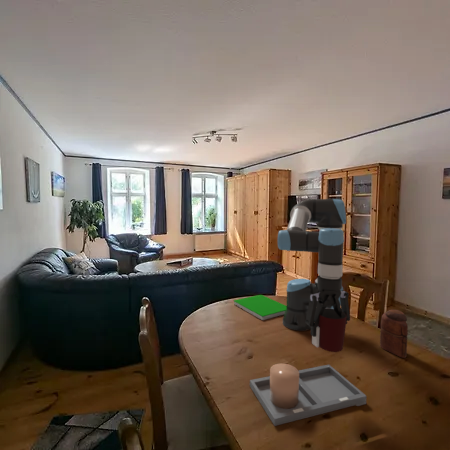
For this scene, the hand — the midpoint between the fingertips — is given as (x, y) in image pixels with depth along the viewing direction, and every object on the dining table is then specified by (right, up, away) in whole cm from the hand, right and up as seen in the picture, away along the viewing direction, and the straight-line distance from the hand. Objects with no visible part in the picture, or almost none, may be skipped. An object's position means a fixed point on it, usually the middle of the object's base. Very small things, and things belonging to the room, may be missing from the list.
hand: (327, 343), depth 93 cm
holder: (-8, -17, -1) cm, 18 cm away
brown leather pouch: (+38, -15, +27) cm, 49 cm away
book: (-12, -11, +75) cm, 77 cm away
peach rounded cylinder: (-15, -16, -4) cm, 22 cm away
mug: (0, -1, 0) cm, 1 cm away
